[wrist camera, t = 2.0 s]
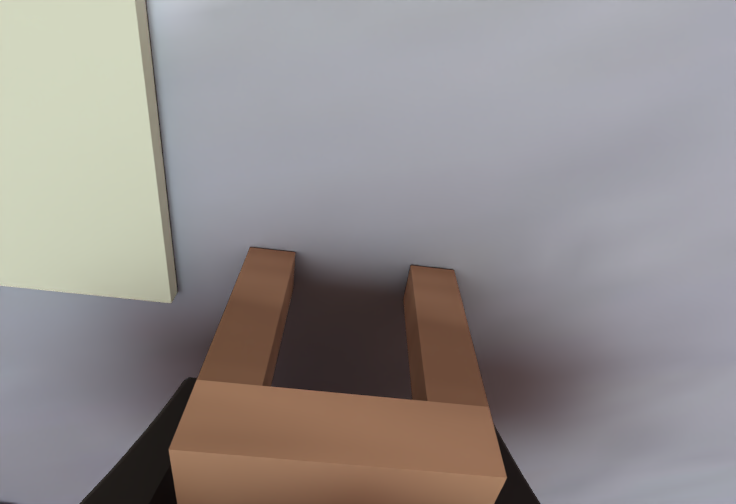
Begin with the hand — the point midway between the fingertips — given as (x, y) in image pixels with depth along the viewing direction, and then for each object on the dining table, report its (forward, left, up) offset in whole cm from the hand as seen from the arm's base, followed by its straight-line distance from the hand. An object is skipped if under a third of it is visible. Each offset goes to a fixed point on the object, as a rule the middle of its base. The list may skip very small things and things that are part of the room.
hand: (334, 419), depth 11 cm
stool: (0, 0, -2) cm, 2 cm away
